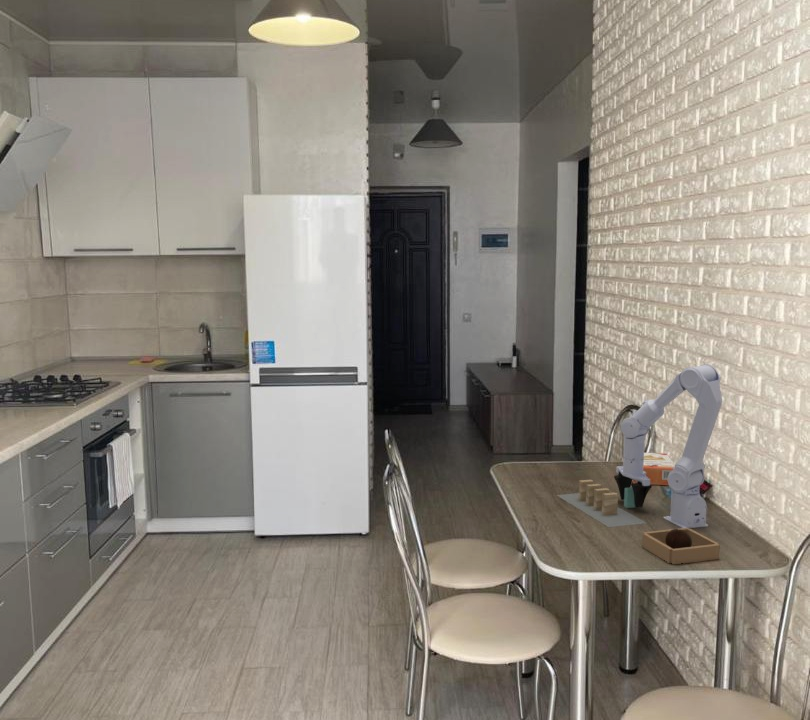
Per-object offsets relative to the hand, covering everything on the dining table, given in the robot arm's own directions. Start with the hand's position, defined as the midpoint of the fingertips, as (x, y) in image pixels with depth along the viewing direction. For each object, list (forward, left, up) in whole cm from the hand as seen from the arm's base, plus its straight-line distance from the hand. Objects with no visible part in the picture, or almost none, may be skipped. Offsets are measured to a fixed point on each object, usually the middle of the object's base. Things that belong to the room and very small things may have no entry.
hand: (631, 503), depth 231 cm
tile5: (+9, +10, -1) cm, 13 cm away
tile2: (-5, +10, -1) cm, 11 cm away
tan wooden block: (0, +10, -1) cm, 10 cm away
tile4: (+4, +10, -1) cm, 11 cm away
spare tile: (0, 0, -2) cm, 2 cm away
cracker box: (+18, -20, +2) cm, 27 cm away
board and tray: (-12, +8, -1) cm, 15 cm away
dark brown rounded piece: (-34, +9, -2) cm, 35 cm away
